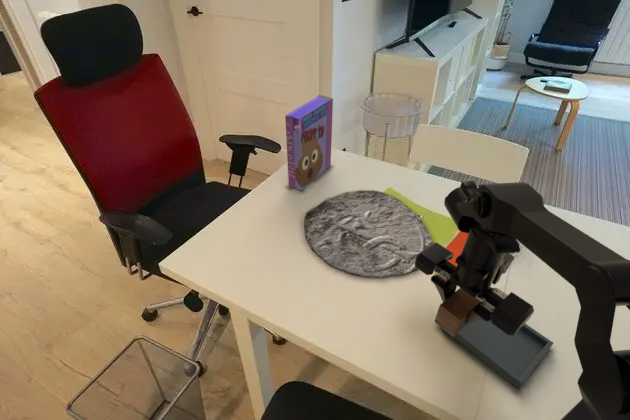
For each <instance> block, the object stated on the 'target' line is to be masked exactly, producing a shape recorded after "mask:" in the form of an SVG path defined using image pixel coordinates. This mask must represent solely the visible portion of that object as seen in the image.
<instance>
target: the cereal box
mask: <svg viewBox="0 0 630 420" xmlns="http://www.w3.org/2000/svg"><path fill="white" fill-rule="evenodd" d="M333 108H334V98H333V97H330V96H328V95H321V94H318V95H317V96H316V97H314V98H312V99H310V100H309V101H307V102H305V103H303V104H302V105H300V106H298V107H297V108H295V109H294V110H292V111H290V112H289V113H287V114H285V117H284V118H285V120H284V121H285V136H286V139H285V140H286V156H287V157H286V159H287V177H288V178H287V180H288V187H289V188H292V189H295V190H297V191H299V192H302V191H303V190H305V189H306V188H307V187H308V186H310V185H311V184H312V183H313V182H314V181H316V179H318V178H319V177H320V176H321V175H323V173H325V172H326V171H327V170H328V169H329V168H331V166H332V165H331V163H332V138H333V137H332V136H333V133H332V132H333V111H334V109H333Z"/></svg>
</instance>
